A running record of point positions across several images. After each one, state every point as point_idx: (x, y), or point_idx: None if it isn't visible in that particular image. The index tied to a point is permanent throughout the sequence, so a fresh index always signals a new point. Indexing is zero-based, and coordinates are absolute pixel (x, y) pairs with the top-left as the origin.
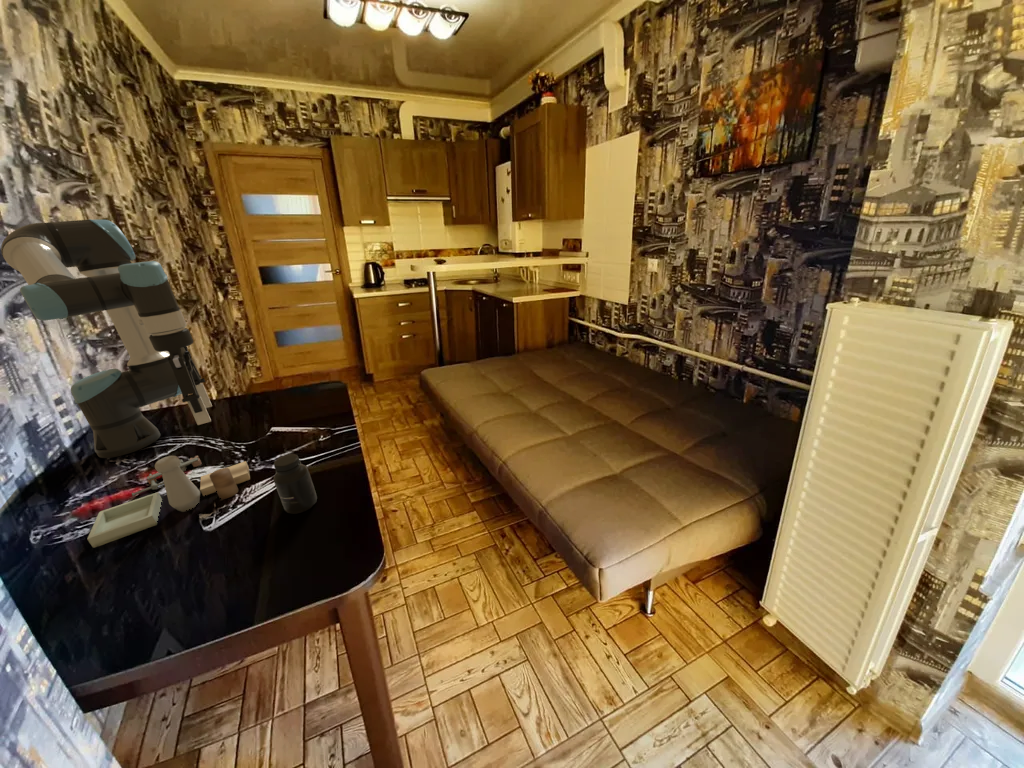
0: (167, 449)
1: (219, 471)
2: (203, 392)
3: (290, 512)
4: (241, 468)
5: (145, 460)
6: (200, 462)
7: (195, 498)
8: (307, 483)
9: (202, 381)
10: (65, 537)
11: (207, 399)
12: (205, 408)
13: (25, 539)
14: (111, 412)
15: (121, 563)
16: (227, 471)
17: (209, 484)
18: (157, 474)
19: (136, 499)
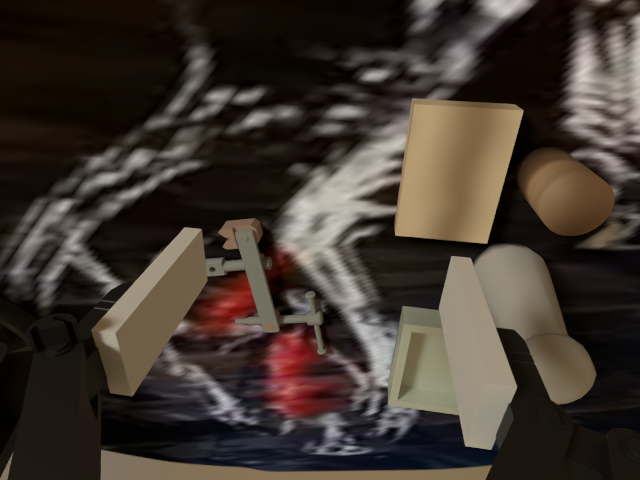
0: (85, 282)
1: (563, 206)
2: (154, 299)
3: None
4: (463, 125)
5: None
6: (255, 223)
7: (542, 258)
8: None
9: (57, 331)
10: (394, 425)
11: (181, 262)
12: (485, 313)
13: (340, 458)
14: None
15: (616, 370)
16: (599, 183)
17: (477, 220)
18: (269, 314)
19: (398, 357)
